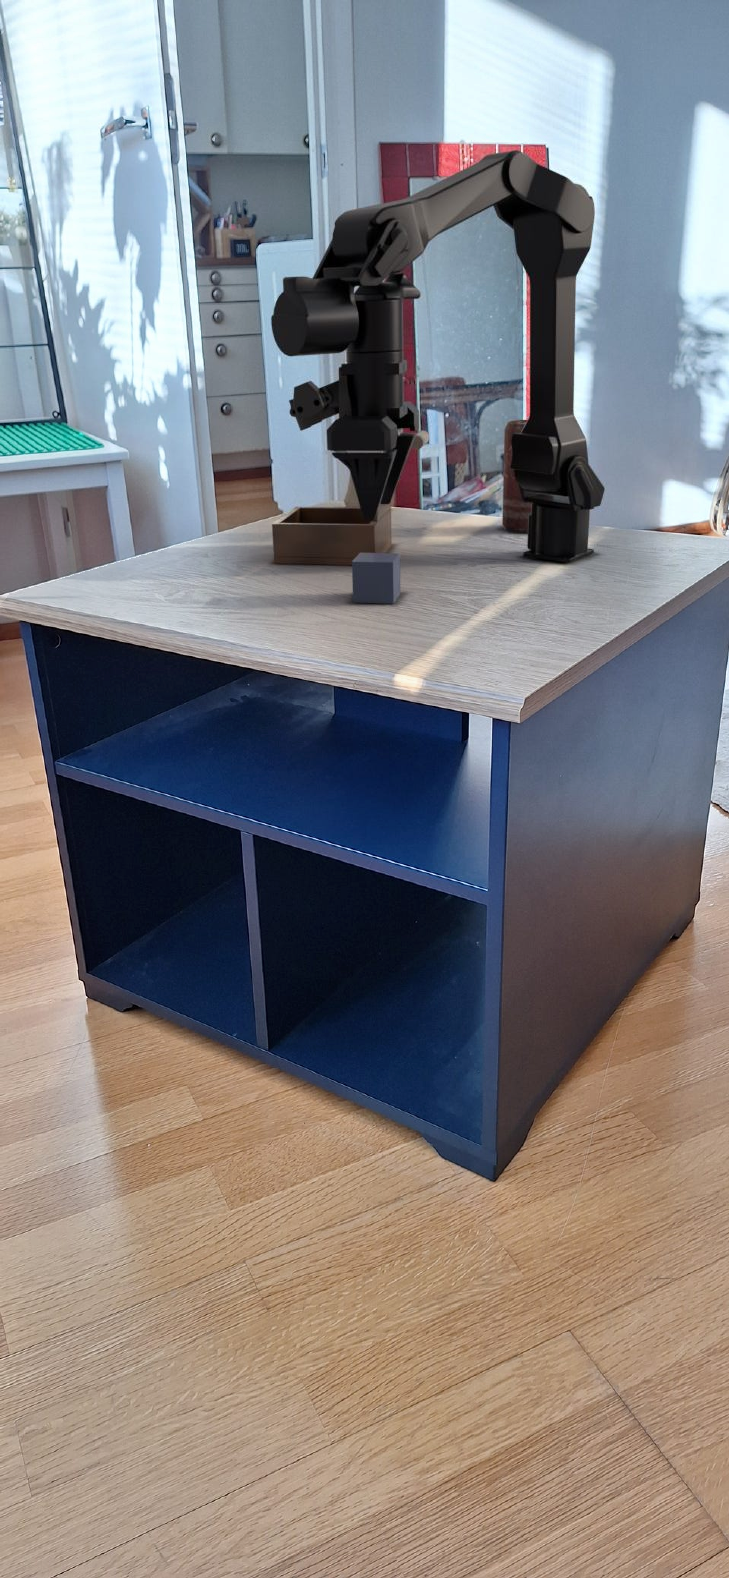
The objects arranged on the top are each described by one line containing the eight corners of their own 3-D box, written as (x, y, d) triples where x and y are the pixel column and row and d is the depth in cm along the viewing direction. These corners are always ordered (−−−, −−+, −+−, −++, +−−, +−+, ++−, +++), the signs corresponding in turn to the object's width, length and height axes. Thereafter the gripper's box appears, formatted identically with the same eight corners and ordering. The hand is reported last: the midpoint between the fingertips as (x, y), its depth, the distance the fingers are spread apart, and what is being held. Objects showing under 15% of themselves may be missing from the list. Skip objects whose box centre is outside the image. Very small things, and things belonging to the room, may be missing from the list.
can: (552, 532, 148) (557, 423, 143) (504, 534, 149) (507, 424, 143) (546, 523, 154) (550, 417, 148) (500, 525, 154) (502, 419, 148)
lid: (377, 402, 126) (421, 405, 125) (394, 393, 136) (435, 396, 135) (371, 521, 132) (414, 525, 131) (388, 504, 142) (428, 507, 141)
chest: (274, 563, 136) (271, 524, 134) (297, 543, 146) (295, 506, 144) (375, 565, 134) (374, 525, 132) (391, 545, 144) (391, 507, 142)
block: (400, 593, 121) (400, 553, 119) (393, 603, 117) (393, 562, 116) (361, 592, 122) (360, 552, 120) (353, 602, 118) (351, 561, 116)
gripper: (316, 347, 119) (322, 495, 126) (270, 358, 103) (279, 528, 109) (419, 346, 117) (419, 496, 124) (388, 356, 101) (391, 530, 107)
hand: (377, 511), depth 116 cm, fingers open, 9 cm apart
